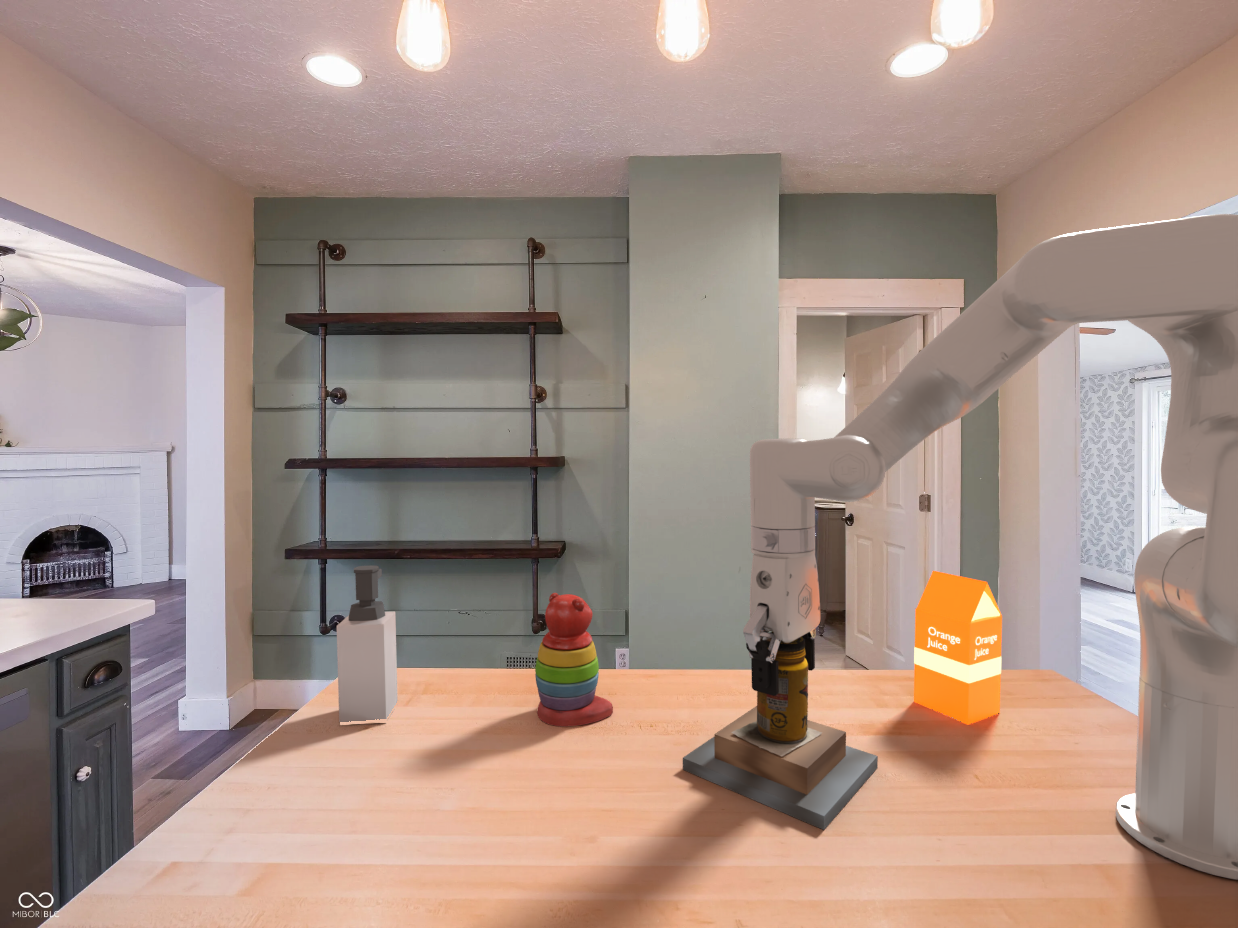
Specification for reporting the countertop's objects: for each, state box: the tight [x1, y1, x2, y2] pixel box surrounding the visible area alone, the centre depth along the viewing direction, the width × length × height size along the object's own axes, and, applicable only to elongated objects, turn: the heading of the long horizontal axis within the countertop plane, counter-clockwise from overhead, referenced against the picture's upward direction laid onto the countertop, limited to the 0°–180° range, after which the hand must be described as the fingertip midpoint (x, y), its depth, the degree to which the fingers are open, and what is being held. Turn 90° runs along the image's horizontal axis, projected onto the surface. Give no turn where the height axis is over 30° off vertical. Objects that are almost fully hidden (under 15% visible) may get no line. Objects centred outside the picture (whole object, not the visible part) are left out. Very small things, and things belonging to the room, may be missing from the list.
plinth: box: [682, 705, 879, 831], centre depth 77 cm, size 18×16×4 cm
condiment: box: [731, 631, 822, 757], centre depth 76 cm, size 7×8×12 cm
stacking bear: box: [534, 592, 614, 728], centre depth 92 cm, size 11×10×18 cm
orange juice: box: [913, 570, 1003, 726], centre depth 93 cm, size 8×9×20 cm
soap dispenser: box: [336, 565, 399, 723], centre depth 93 cm, size 6×9×22 cm
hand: (784, 679), depth 76 cm, fingers open, 9 cm apart
